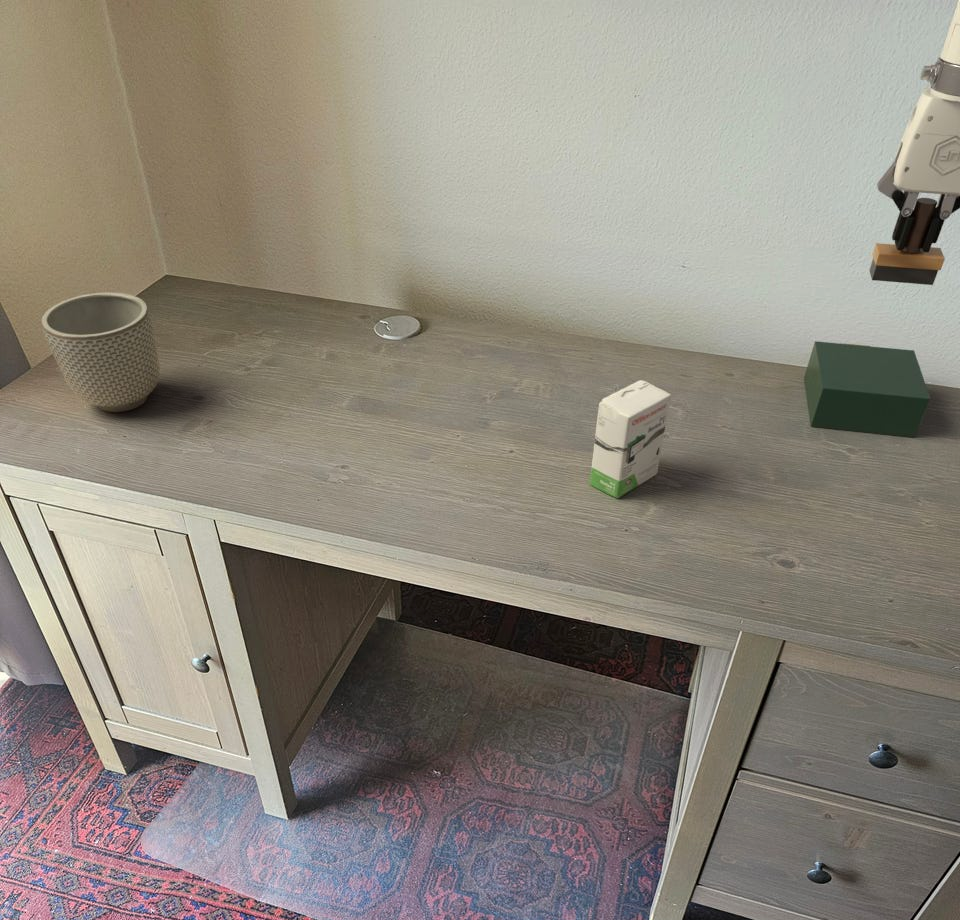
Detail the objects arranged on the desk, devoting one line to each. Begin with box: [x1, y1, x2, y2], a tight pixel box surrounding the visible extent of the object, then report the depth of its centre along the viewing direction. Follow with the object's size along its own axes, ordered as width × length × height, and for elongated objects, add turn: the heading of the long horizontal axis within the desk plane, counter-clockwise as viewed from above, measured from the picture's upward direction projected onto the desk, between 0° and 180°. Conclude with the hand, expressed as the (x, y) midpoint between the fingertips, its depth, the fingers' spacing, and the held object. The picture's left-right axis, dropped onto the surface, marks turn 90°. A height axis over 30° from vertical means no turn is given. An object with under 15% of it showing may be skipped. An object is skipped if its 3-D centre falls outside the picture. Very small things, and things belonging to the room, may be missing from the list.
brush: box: [869, 197, 946, 286], centre depth 110 cm, size 8×4×10 cm, turn 78°
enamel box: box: [803, 341, 931, 438], centre depth 123 cm, size 14×14×6 cm
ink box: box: [589, 379, 672, 499], centre depth 108 cm, size 9×5×12 cm, turn 134°
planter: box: [40, 291, 161, 413], centre depth 120 cm, size 14×14×13 cm
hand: (911, 246), depth 110 cm, fingers closed on brush, 2 cm apart
